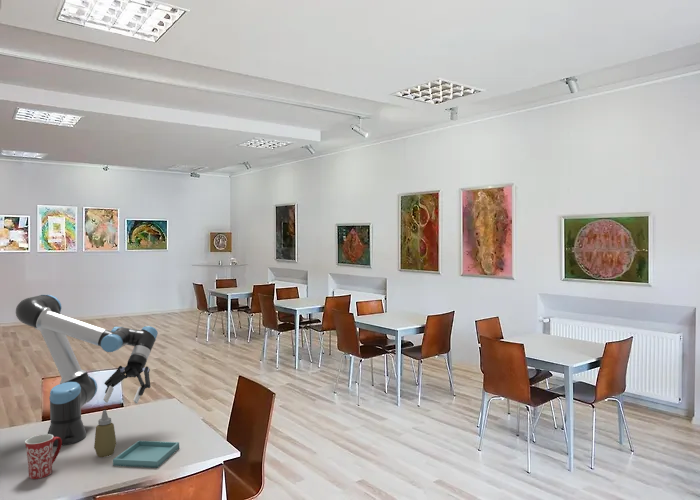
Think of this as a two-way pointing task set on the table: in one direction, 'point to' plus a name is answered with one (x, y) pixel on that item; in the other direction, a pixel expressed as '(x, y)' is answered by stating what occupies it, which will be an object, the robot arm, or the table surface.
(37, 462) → the mug
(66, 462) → the table surface
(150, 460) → the tray
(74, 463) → the table surface
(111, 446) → the squeeze bottle
